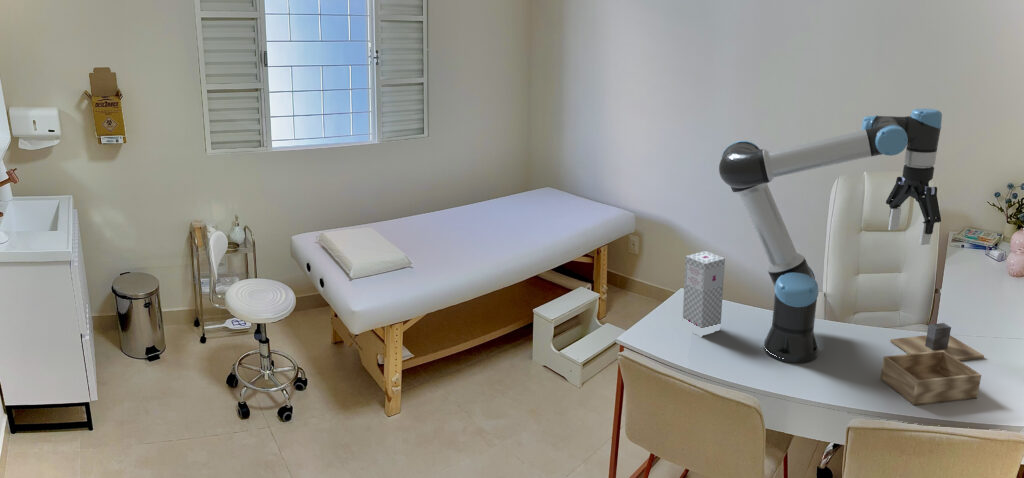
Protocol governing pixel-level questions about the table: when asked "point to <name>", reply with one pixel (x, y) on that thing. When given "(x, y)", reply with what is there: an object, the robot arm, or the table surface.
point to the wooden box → (930, 377)
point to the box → (703, 289)
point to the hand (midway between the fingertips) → (908, 236)
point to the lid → (937, 343)
